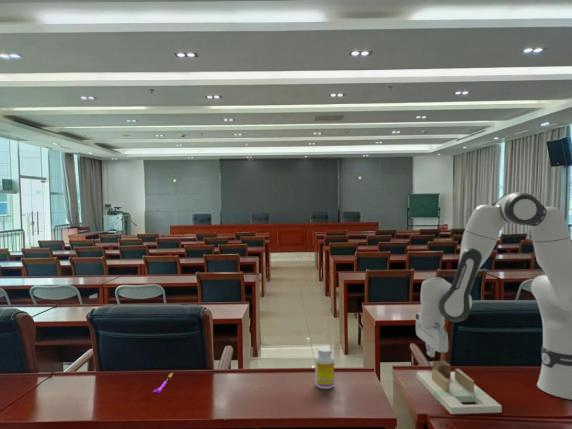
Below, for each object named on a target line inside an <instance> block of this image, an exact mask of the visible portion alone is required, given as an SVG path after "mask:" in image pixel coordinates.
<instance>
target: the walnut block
mask: <svg viewBox="0 0 572 429" xmlns="http://www.w3.org/2000/svg"><path fill="white" fill-rule="evenodd" d="M433 369H436V370H437V371H438V372H439V373H441V374H442V375H443V376H444V377H445V378H450V375H451V372H452V371H451V364H449V362H447V361H445V360H432V370H433Z"/></svg>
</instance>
